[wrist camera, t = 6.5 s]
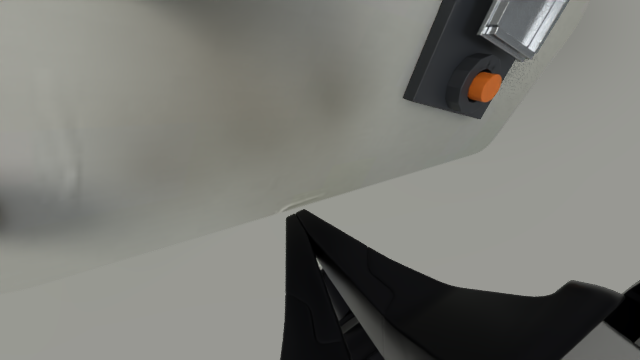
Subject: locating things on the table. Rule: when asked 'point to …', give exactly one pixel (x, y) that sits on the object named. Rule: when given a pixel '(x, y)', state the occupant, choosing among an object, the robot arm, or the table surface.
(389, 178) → the table surface
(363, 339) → the robot arm
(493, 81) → the button
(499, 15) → the brushed steel platform
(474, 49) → the scale
